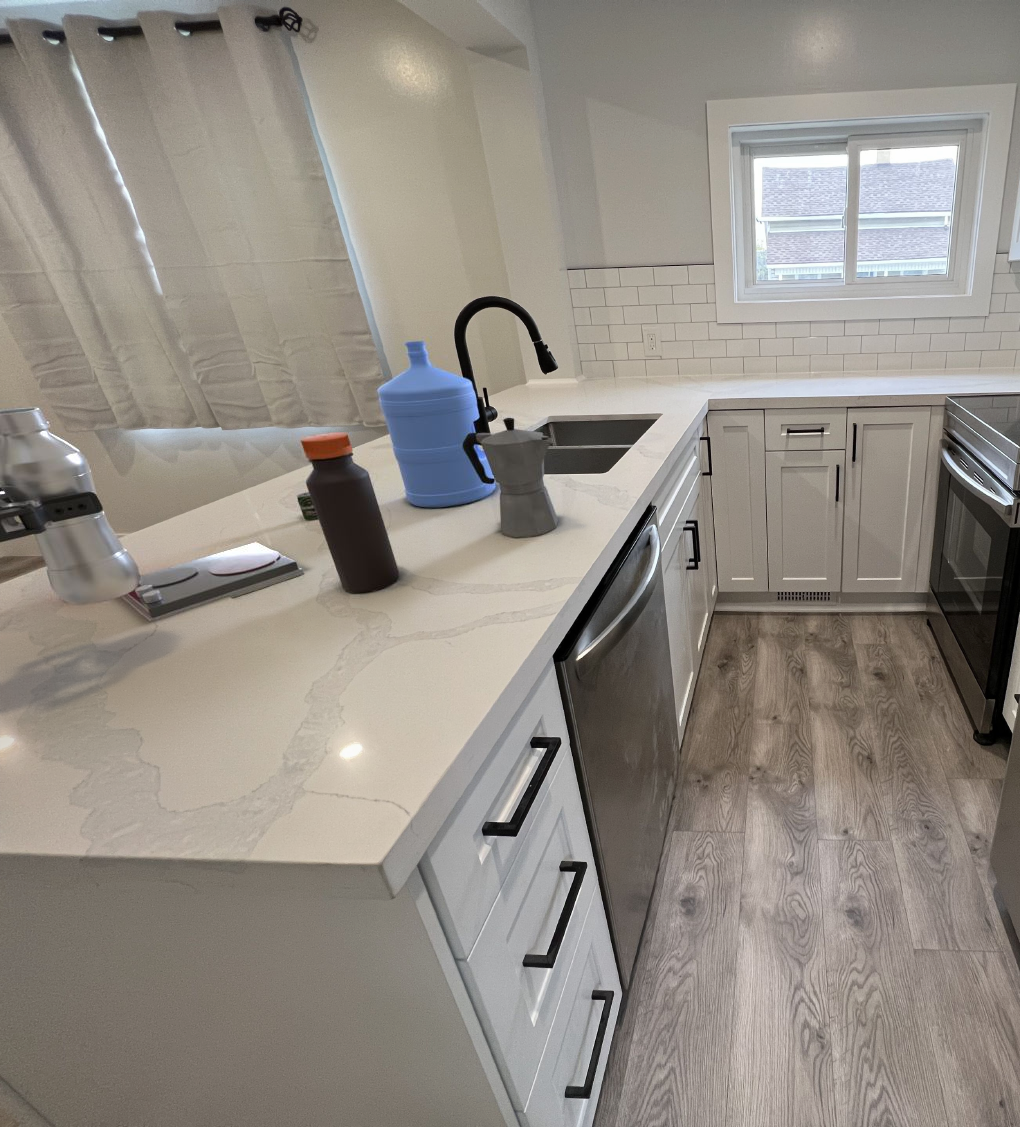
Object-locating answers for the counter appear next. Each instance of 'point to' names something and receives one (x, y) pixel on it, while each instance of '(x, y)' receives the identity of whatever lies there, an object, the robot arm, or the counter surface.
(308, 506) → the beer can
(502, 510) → the coffeepot
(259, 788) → the counter surface
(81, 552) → the silver metal bottle
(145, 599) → the hob
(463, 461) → the water jug
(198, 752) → the counter surface
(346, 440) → the vinegar
